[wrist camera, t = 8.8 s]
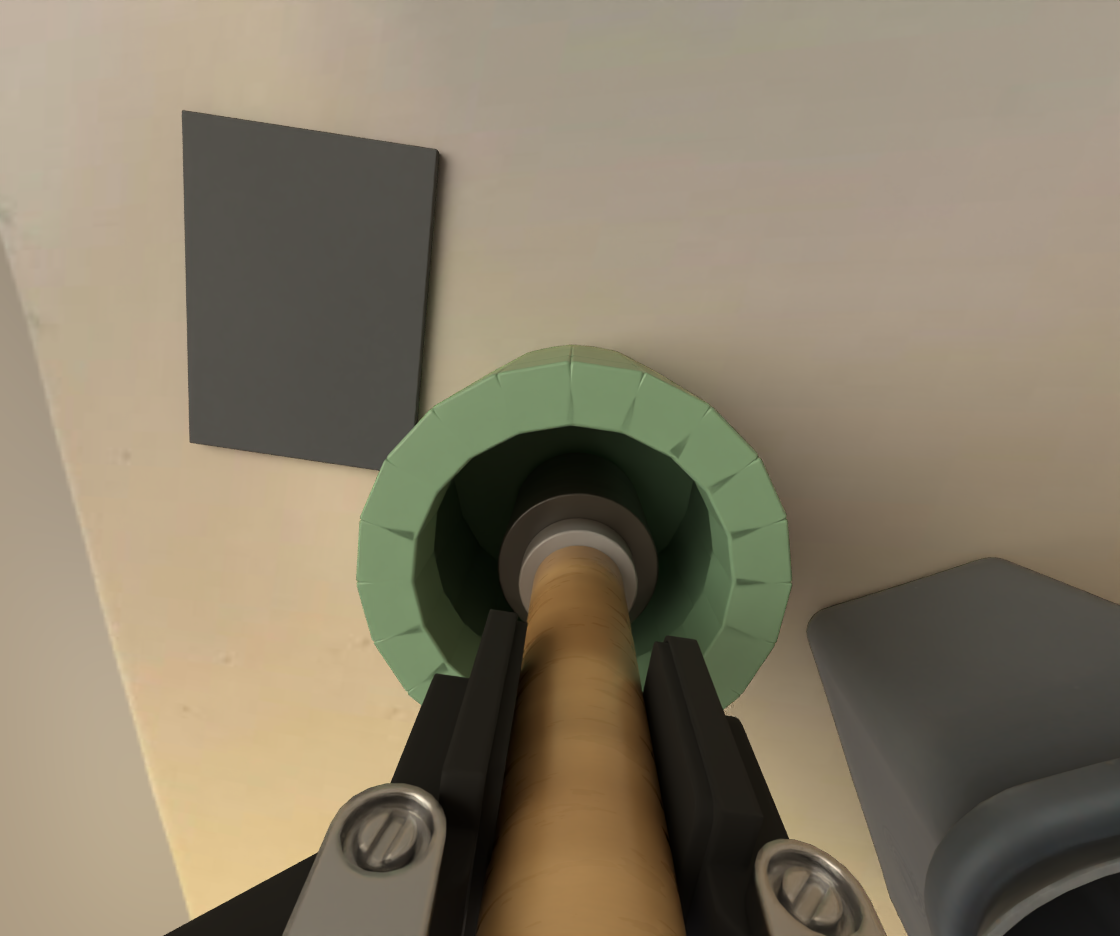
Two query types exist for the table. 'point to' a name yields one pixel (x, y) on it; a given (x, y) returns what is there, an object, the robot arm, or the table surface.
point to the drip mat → (304, 288)
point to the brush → (579, 718)
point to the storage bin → (983, 747)
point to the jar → (492, 488)
